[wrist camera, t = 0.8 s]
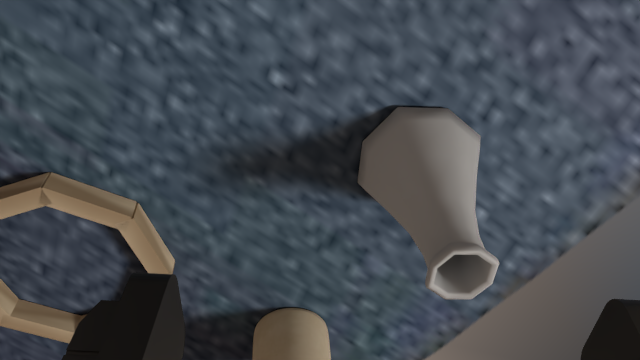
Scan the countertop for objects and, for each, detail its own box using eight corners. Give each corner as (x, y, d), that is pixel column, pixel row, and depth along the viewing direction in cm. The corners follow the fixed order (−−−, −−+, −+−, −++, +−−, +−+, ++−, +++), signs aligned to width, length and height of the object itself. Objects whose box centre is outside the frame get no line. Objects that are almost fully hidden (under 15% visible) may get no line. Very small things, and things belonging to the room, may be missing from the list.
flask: (337, 187, 34) (356, 311, 26) (389, 85, 31) (431, 193, 22) (439, 217, 36) (488, 342, 28) (500, 125, 32) (576, 238, 24)
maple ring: (-82, 212, 33) (-96, 229, 32) (107, 154, 32) (100, 168, 31) (38, 340, 40) (30, 357, 39) (198, 297, 39) (195, 313, 38)
